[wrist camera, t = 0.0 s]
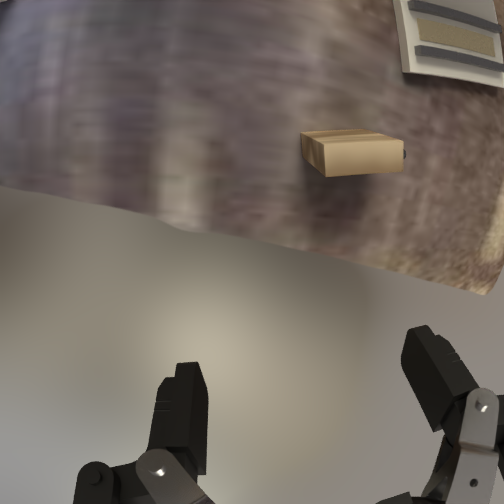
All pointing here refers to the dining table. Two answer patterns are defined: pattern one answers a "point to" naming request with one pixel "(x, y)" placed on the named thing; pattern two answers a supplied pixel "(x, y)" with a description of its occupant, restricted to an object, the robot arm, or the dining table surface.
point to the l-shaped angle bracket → (450, 39)
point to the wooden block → (352, 152)
